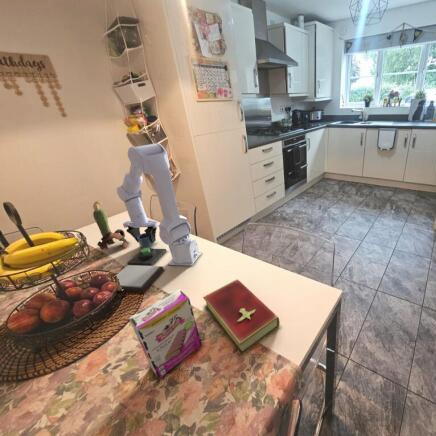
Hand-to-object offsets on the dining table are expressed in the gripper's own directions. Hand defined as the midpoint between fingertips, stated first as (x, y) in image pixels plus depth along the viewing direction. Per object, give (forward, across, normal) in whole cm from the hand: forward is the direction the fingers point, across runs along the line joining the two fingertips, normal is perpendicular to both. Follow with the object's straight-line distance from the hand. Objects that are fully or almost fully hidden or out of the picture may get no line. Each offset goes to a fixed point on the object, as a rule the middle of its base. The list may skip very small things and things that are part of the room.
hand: (146, 241), depth 106 cm
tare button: (0, -6, +9) cm, 11 cm away
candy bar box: (+3, -40, +48) cm, 62 cm away
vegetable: (-8, +20, -2) cm, 21 cm away
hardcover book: (+3, -52, +35) cm, 63 cm away
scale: (+2, -10, +22) cm, 24 cm away
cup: (+2, 0, 0) cm, 2 cm away
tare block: (+2, -6, +9) cm, 11 cm away
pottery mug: (+2, +14, +1) cm, 14 cm away
